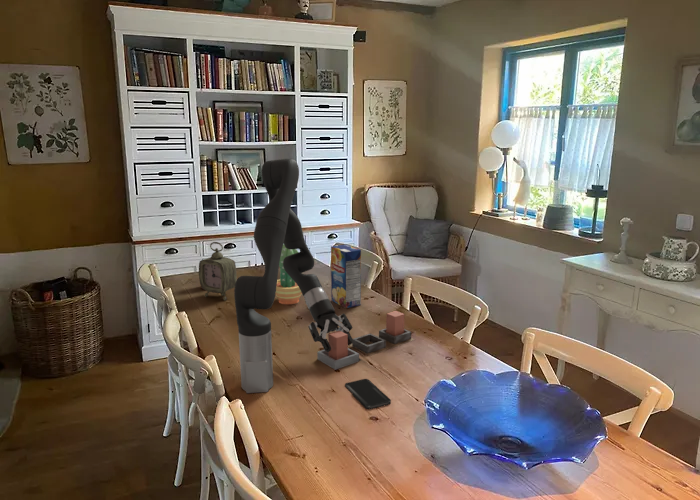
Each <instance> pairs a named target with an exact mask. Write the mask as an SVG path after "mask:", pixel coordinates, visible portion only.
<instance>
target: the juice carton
mask: <svg viewBox="0 0 700 500" xmlns="http://www.w3.org/2000/svg"><path fill="white" fill-rule="evenodd" d="M361 275H362V250H361V249H359V248H357V247H355V246H351V245H348V244H340V245H334V246H330V276H331V277H330V279H331V280H330V282H331V284H330V285H331V286H330V288H331V289H330V290H331V292H330V293H331V302H334V303H335V304H337V305H339V306H341V307H343V308H344V309H348V308H353V307H358V306H361V305H362V301H361V300H362V298H361V297H362V295H361V294H362V291H361V290H362V277H361Z"/></svg>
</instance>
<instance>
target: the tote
mask: <svg viewBox="0 0 700 500" xmlns="http://www.w3.org/2000/svg"><path fill="white" fill-rule="evenodd" d="M317 360H318V361H319V362H320V363H323V364H324V365H326V366H329V367H330V368H331V369H333V370H335V371H336V370H339V369H341V368H344V367H347V366H350V365H352V364H355V363H358V362H360V353H359V352H356V351H355V350H353V349H351V348H349V347H348V356H347V357H344V358H341V359H338V360H334V359H332V358H331V357H329V352H327V351H325V350H324V349H321V350H319V351H317Z"/></svg>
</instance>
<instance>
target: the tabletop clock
mask: <svg viewBox="0 0 700 500" xmlns="http://www.w3.org/2000/svg"><path fill="white" fill-rule="evenodd" d="M214 244H215V245H216V244H217V245H219V246H220V247H221V249H218V248H217V247H216V248H213V247H212V245H214ZM209 247H210V249H211V251H214V252H212V254H211V256H210V257H208V258H203V259H201V260H199V263H198V277H199V284H200V288H201V287H202V288H201V289H202V290H204V291H206V293H205V292H204V297H205V298H207V297H209V293H215V294H220V295H221V296H222V297H223V301H227V300H228V297H227V294H226V293H227V292H228V291H229V290H232V289H234V288H235V283H236V280H237V279H238V277H237V265H236V262H235V260H233V259H232V258H229V257H225V256H224V255H223V253H222V251H223V249H224V246H223V245H222V244H221V243H220V242H218V241H213V242H210V245H209Z"/></svg>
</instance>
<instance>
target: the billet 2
mask: <svg viewBox="0 0 700 500" xmlns="http://www.w3.org/2000/svg"><path fill="white" fill-rule="evenodd" d="M385 318H386V321H385V322H386V324H385V326H386V328H385V329H386V333H388V334H391V335H393V336H397V335H400V334H403V333H404V329H405V313H403V312H400V311H397V310H394V311H391V312H388V313H386V317H385Z"/></svg>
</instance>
